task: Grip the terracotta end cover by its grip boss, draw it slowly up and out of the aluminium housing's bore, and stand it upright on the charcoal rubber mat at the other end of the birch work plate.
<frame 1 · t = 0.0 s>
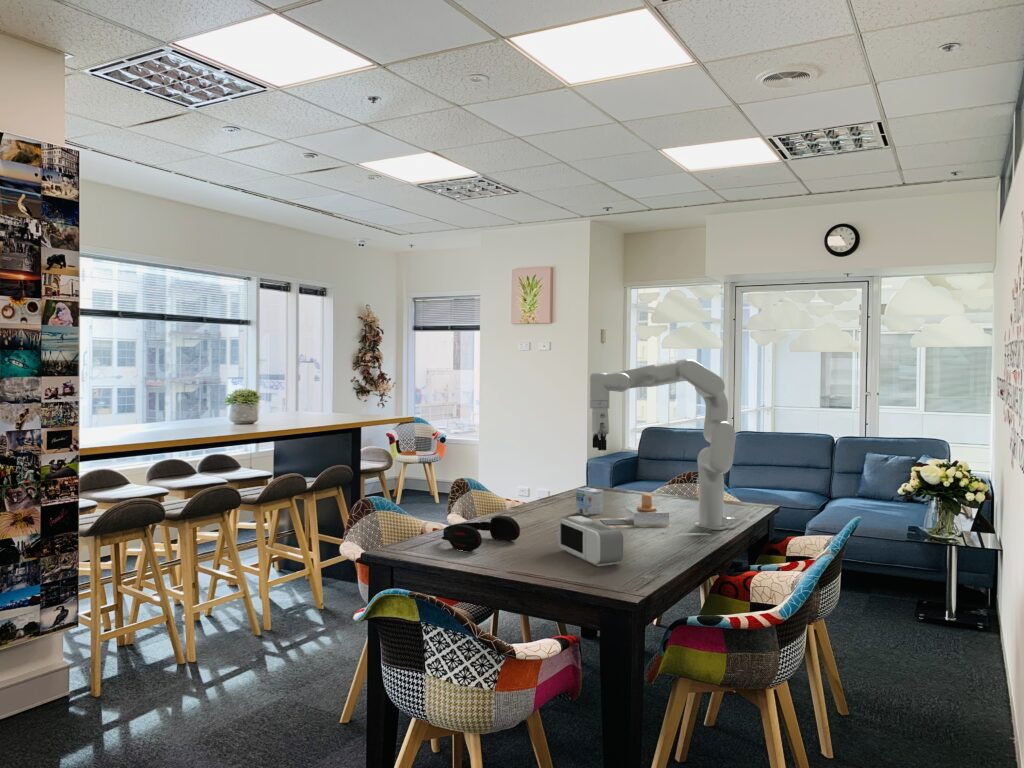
hand: (599, 448, 301), 31 cm above the table, tool pointing down, fingers open, 9 cm apart
work plate: (631, 525, 310), on the table
light bulb box: (589, 514, 334), on the table
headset: (482, 546, 273), on the table
end cover: (646, 522, 311), point 1 cm above the table, touching work plate
alarm clock: (589, 558, 255), on the table
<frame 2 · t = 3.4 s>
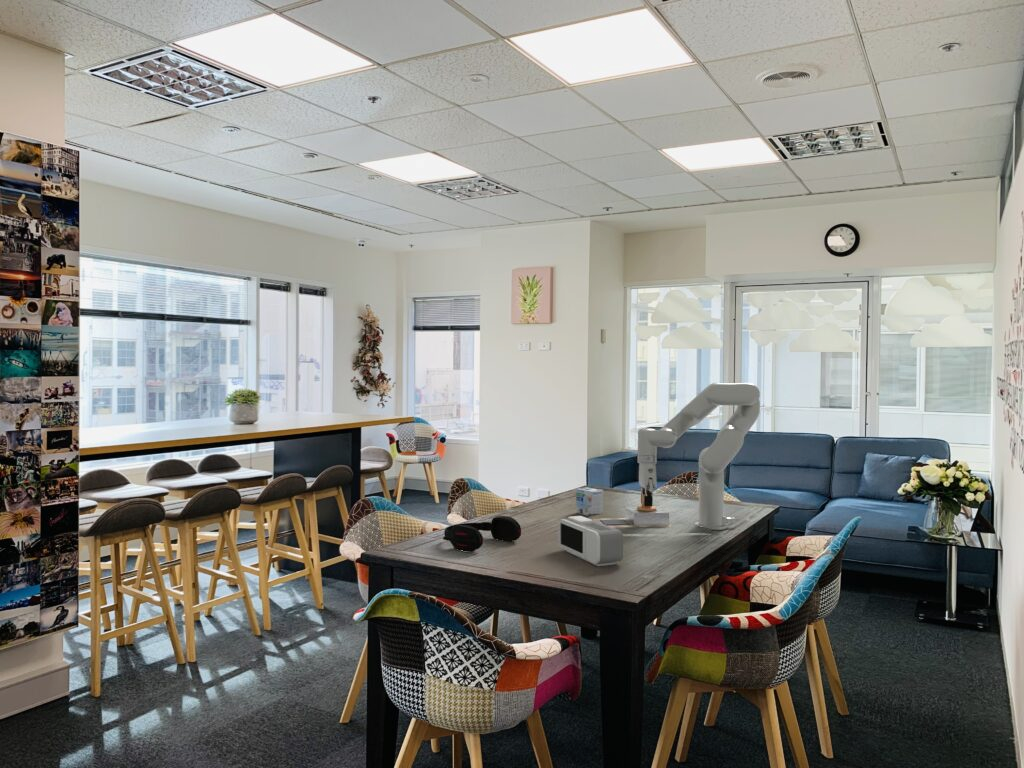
hand: (646, 504, 310), 8 cm above the table, tool pointing down, fingers closed on end cover, 4 cm apart
end cover: (646, 522, 311), point 1 cm above the table, touching gripper, work plate
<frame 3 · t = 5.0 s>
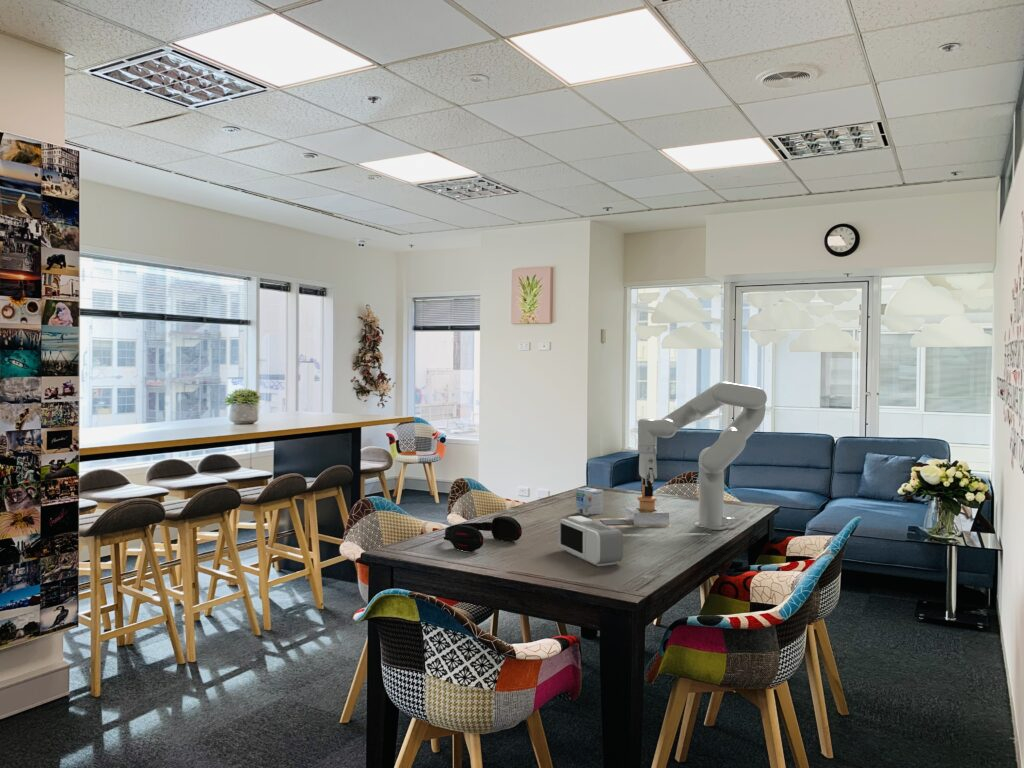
hand: (647, 494, 310), 12 cm above the table, tool pointing down, fingers closed on end cover, 4 cm apart
end cover: (647, 512, 310), point 5 cm above the table, touching gripper
everything else where it was.
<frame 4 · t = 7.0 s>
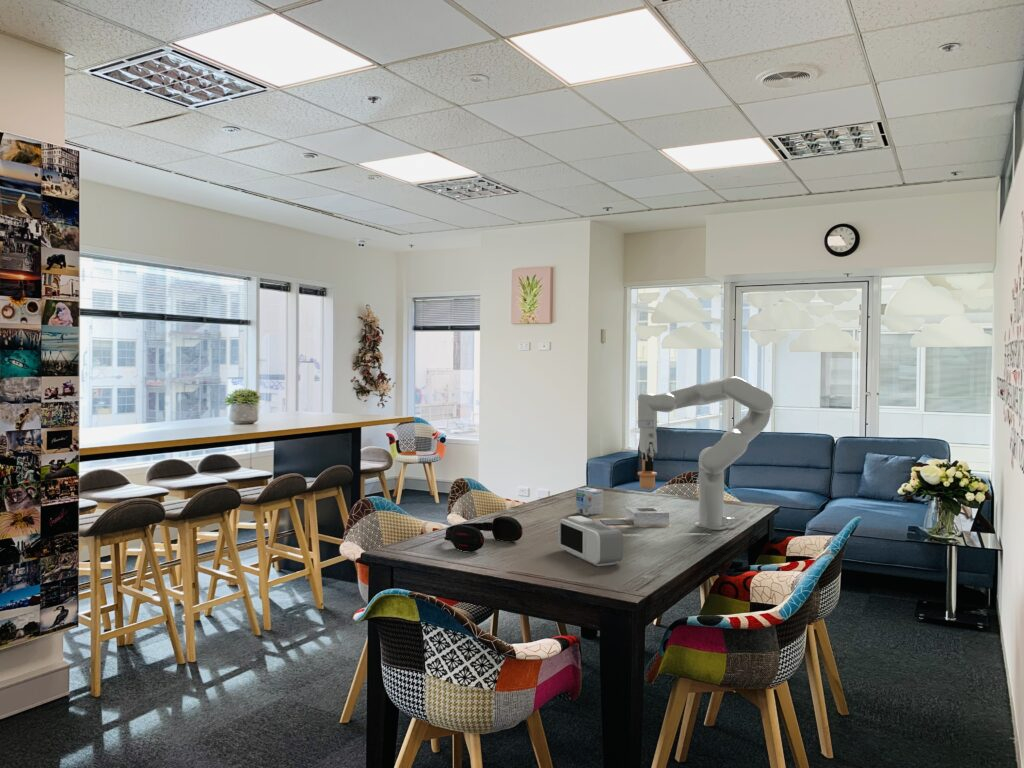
hand: (647, 469, 310), 22 cm above the table, tool pointing down, fingers closed on end cover, 4 cm apart
end cover: (647, 487, 310), point 15 cm above the table, touching gripper
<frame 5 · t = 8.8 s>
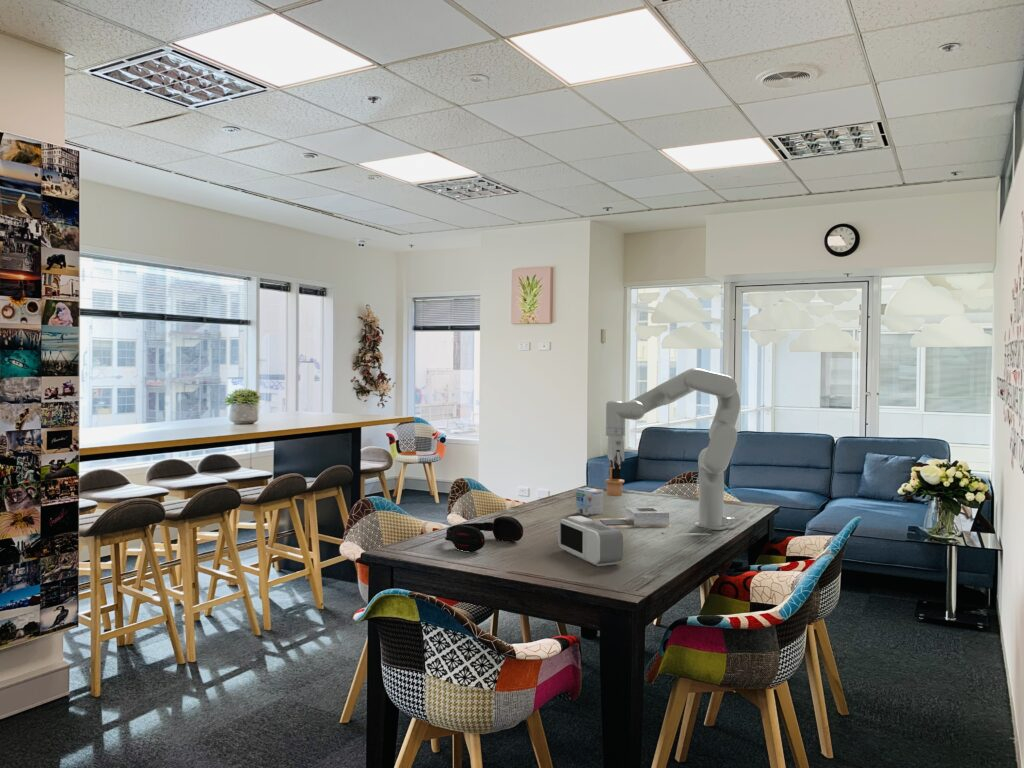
hand: (614, 477, 309), 19 cm above the table, tool pointing down, fingers closed on end cover, 4 cm apart
end cover: (614, 495, 309), point 12 cm above the table, touching gripper
when the fingers open (10 cm above the table, at t = 10.6 s): end cover drops 1 cm, resting on work plate.
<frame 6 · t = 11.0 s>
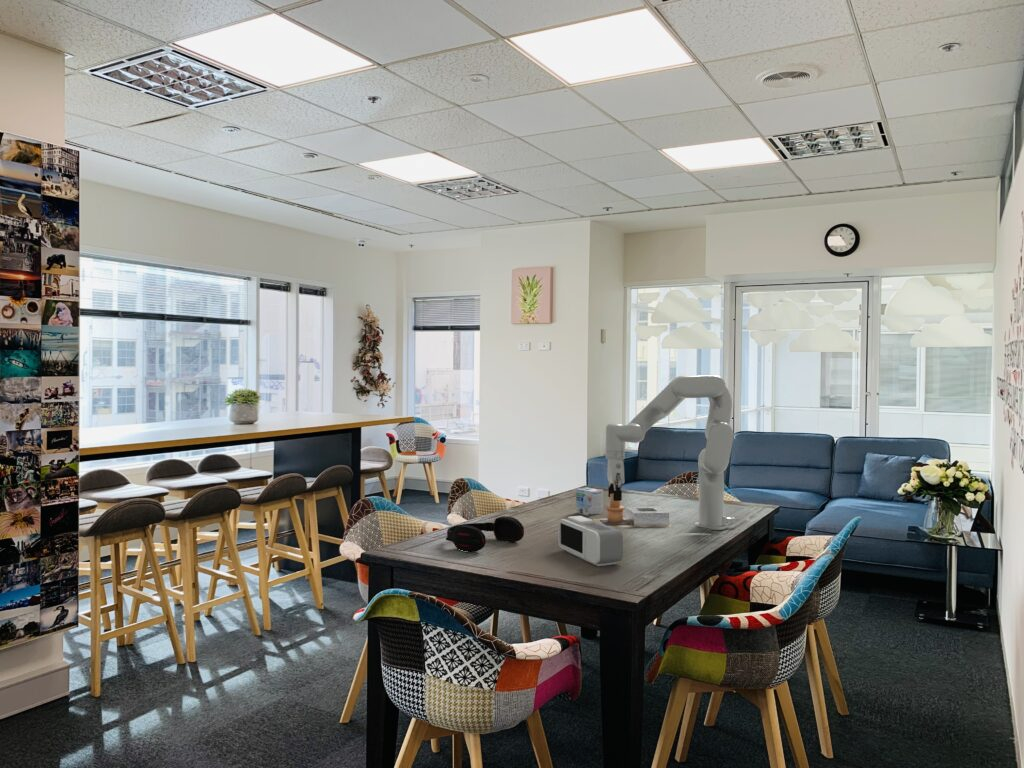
hand: (614, 498, 309), 11 cm above the table, tool pointing down, fingers open, 8 cm apart
end cover: (615, 521, 309), point 1 cm above the table, touching work plate
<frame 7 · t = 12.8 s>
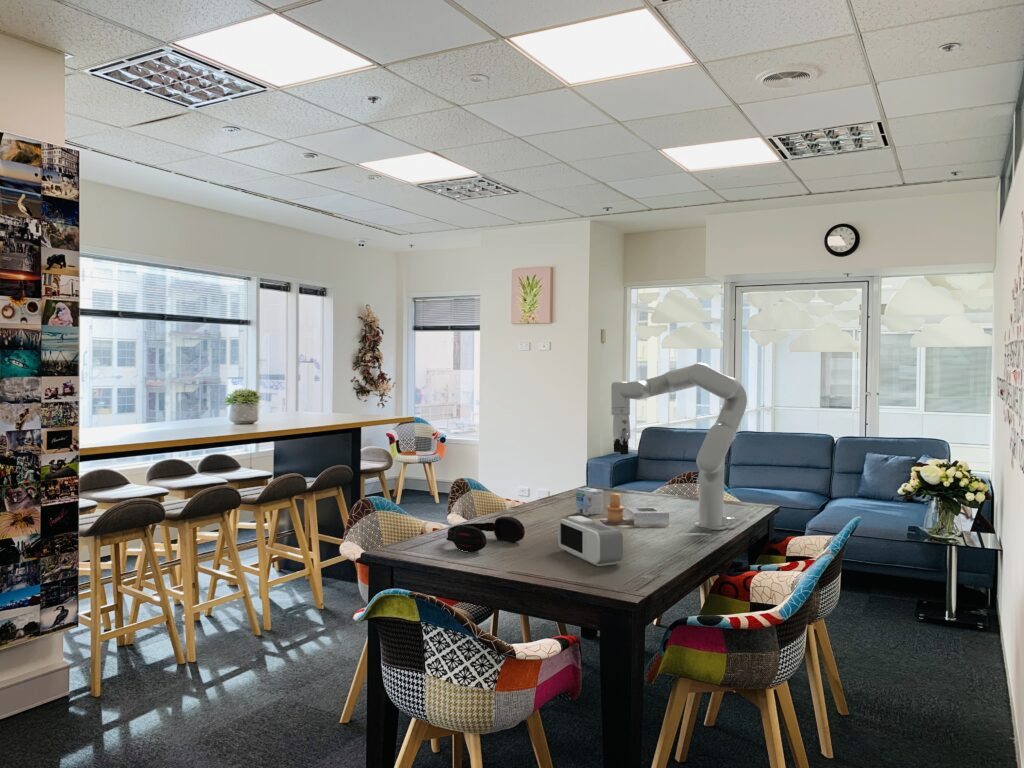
hand: (620, 453, 319), 28 cm above the table, tool pointing down, fingers open, 9 cm apart
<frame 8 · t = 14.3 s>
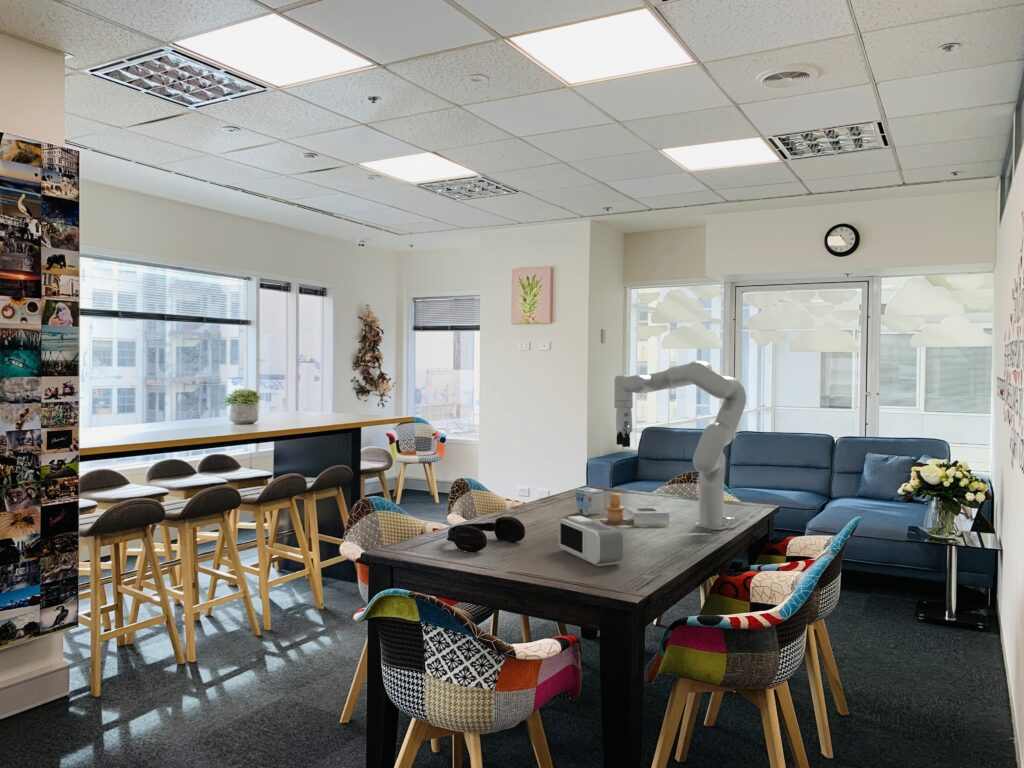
hand: (623, 445, 324), 30 cm above the table, tool pointing down, fingers open, 9 cm apart
at the end: end cover inside the target area on the work plate (0.1 cm from its centre), point 1.4 cm above the work plate's base; end cover tilted 0°; the gripper is holding nothing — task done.
